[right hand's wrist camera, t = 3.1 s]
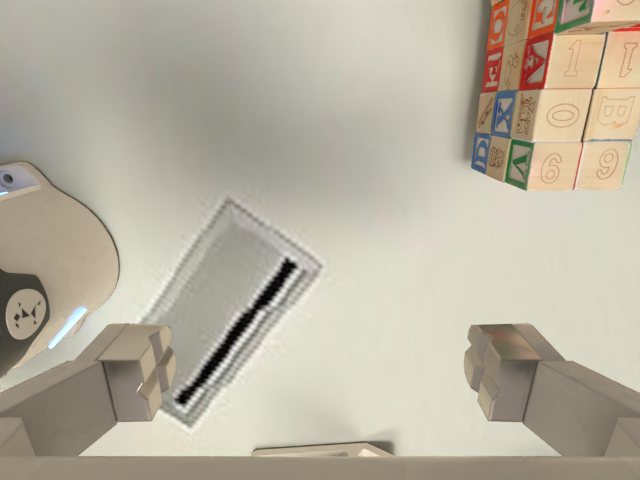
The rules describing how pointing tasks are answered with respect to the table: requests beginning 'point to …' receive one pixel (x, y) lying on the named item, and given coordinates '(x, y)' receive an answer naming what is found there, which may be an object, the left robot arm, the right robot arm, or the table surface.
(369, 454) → the tablet stand
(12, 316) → the right robot arm
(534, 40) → the stack of blocks
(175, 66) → the table surface
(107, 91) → the table surface
